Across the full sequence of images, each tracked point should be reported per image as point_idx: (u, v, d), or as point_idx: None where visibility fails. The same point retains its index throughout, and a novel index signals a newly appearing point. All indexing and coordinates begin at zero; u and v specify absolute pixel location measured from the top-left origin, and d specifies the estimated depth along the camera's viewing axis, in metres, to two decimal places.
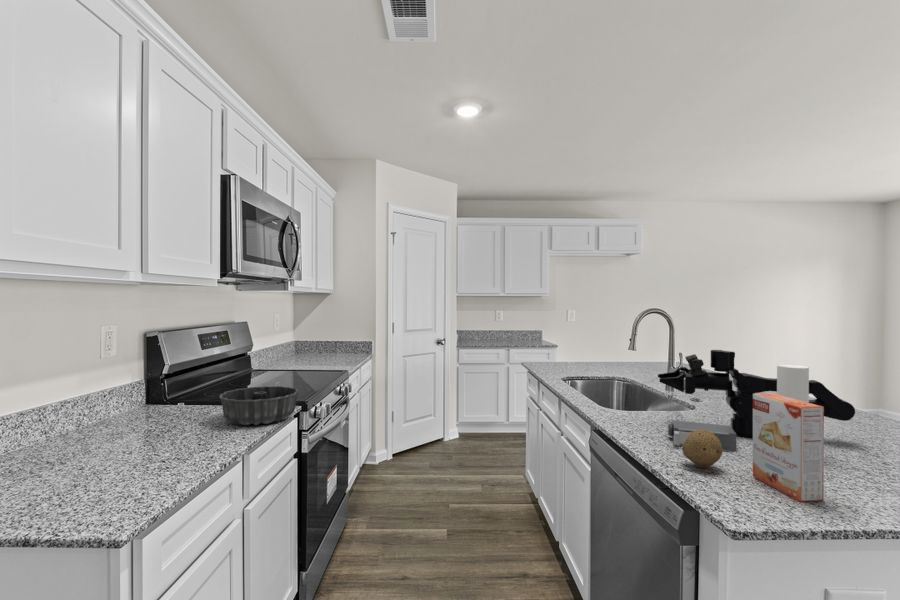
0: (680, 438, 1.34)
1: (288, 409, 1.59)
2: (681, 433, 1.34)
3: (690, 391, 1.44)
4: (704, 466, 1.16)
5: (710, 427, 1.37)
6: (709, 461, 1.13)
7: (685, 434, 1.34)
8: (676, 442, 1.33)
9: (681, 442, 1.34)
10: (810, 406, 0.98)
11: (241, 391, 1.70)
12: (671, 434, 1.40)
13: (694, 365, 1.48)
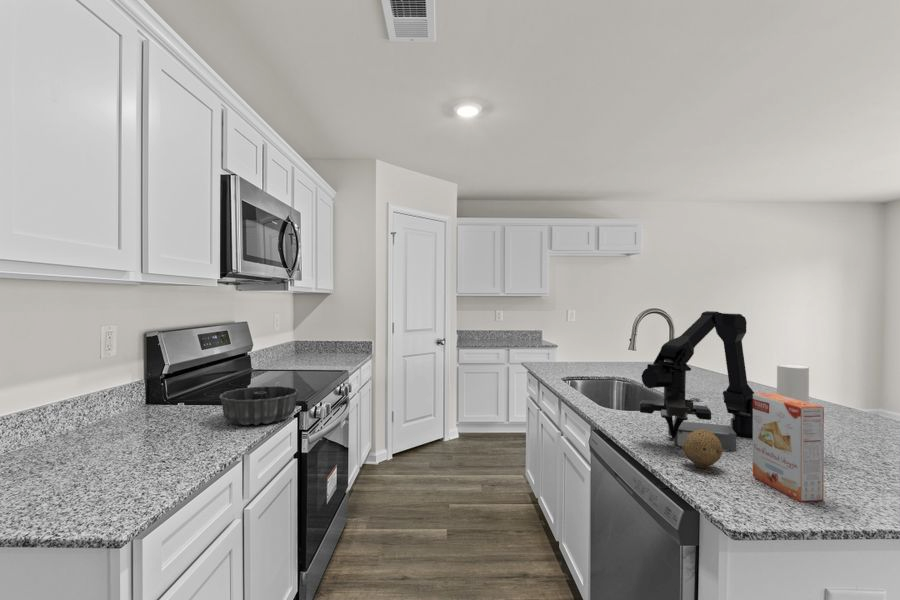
0: (683, 438, 1.34)
1: (288, 409, 1.59)
2: (684, 433, 1.34)
3: None
4: (704, 466, 1.16)
5: (710, 427, 1.37)
6: (709, 461, 1.13)
7: (688, 434, 1.34)
8: (679, 442, 1.33)
9: None
10: (810, 406, 0.98)
11: (241, 391, 1.70)
12: None
13: None
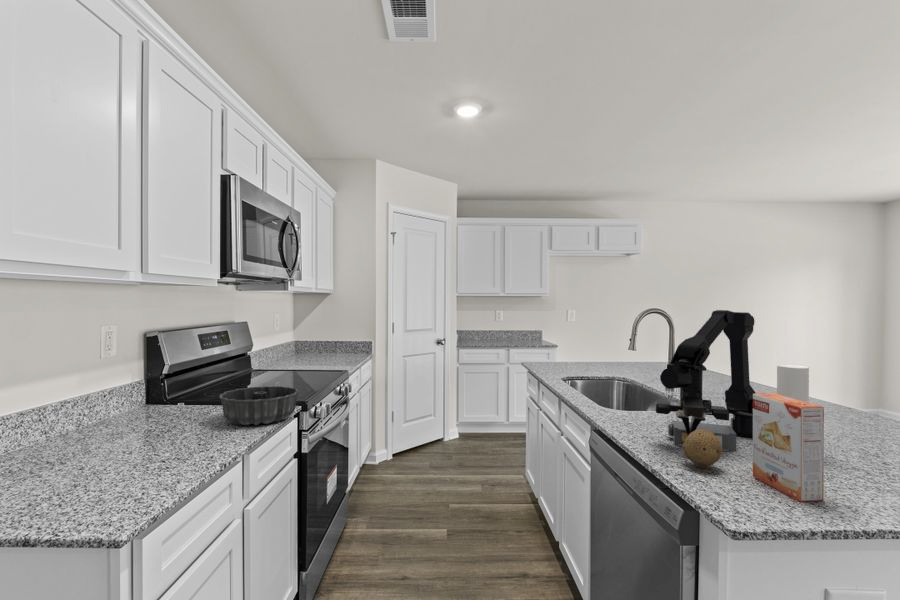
0: None
1: (288, 409, 1.59)
2: None
3: None
4: (704, 466, 1.16)
5: (710, 427, 1.37)
6: (709, 461, 1.13)
7: None
8: None
9: None
10: (810, 406, 0.98)
11: (242, 391, 1.70)
12: (671, 434, 1.40)
13: None
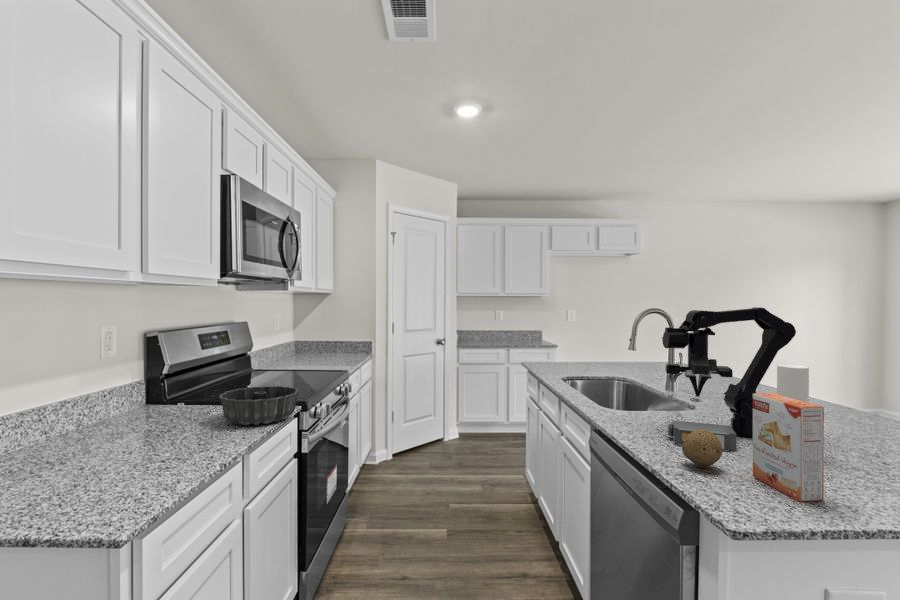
0: None
1: (288, 409, 1.59)
2: None
3: None
4: (704, 466, 1.16)
5: (710, 427, 1.37)
6: (709, 461, 1.13)
7: None
8: None
9: None
10: (810, 406, 0.98)
11: (241, 391, 1.70)
12: (671, 434, 1.40)
13: None
